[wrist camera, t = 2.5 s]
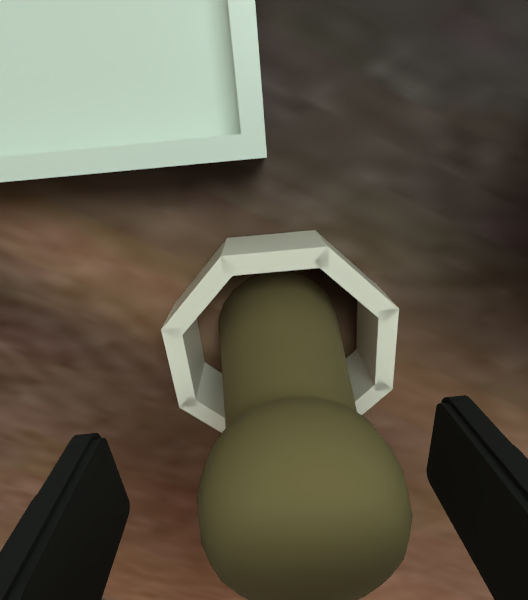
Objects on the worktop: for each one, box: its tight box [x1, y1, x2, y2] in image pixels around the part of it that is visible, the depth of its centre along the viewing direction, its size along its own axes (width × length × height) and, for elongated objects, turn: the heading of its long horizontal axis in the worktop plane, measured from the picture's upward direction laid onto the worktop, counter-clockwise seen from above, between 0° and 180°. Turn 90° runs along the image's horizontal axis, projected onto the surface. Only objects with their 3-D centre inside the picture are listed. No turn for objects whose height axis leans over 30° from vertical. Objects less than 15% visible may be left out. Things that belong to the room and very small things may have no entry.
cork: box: [197, 272, 412, 600], centre depth 12 cm, size 6×6×11 cm
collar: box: [161, 230, 399, 433], centre depth 16 cm, size 10×10×3 cm
